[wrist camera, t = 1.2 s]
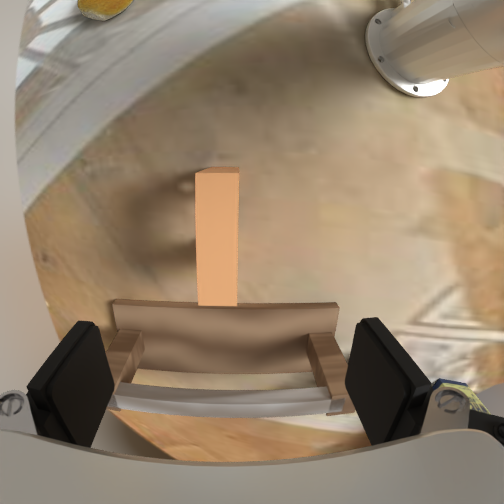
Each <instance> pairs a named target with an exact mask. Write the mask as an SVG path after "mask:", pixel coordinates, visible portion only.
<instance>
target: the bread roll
mask: <svg viewBox="0 0 504 504" xmlns="http://www.w3.org/2000/svg"><path fill="white" fill-rule="evenodd" d="M132 1H133V0H78V8H79V10H80V11H81V12H82V14H83V15H84V16H86V17H89V18H91V19H96V20H101V21H105V20H108V19H110V18H112V17H114V16H116V15H118V14H119V13H121V12H123V11H124V10H125V9H126V8H127V7H128V6H129V5H130V4H131V3H132Z"/></svg>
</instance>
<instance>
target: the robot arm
mask: <svg viewBox="0 0 504 504" xmlns="http://www.w3.org/2000/svg"><path fill="white" fill-rule="evenodd" d="M401 3H402V4H400V6H398V7H397V8H389V9H384V10H382V11H380V12H378V13H377V14H376V15H374V16H373V17H372V19H371V20H370V21H369V23H368V25H367V27H366V33H365V40H366V46H367V50H368V53H369V56H370V58H371V60H372V62H373V64H374V66H375V67H376V69H377V70H378V71H379V73H380V74H381V75H382V76H383V78H384V79H385V80H386V81H388V82H389V83H390V84H391V85H392V86H393V87H395V88H396V89H398V90H399V91H401V92H403V93H405V94H407V95H410V96H414V97H421V98H422V97H430V96H433V95H436V94H438V93H440V92H441V91H442V90H443V89H444V88H445V87H446V85H447V83H448V81H449V79H450V78H454V77H458V76H462V75H466V74H470V73H474V72H479V71H483V70H488V69H493V68H498V67H503V66H504V0H414V1H413V2H412V3H411V0H401ZM378 60H379V61H378ZM431 384H432V383H431V382H430V381H429V379H428V378H427V377H426V376H425V374H424V373H423V372H422V371H421V369H420V368H419V367H418V366H417V364H416V363H415V362H414V361H413V359H412V358H411V357H410V356H409V354H408V353H407V352H406V351H405V350H404V348H403V347H402V346H401V345H400V343H399V342H398V341H397V340H396V339H395V337H394V336H393V335H392V334H391V333H390V331H389V330H388V329H387V328H386V327H385V325H384V324H383V323H382V322H381V321H380V320H379V318H377V317H374V318H364V319H362V320H361V322H360V323H357V325H356V328H355V334H354V339H353V344H352V349H351V354H350V359H349V363H348V368H347V372H346V377H345V387H346V390H347V392H348V394H349V396H350V399H351V401H352V403H353V405H354V407H355V409H356V412H357V414H358V416H359V418H360V420H361V423H362V425H363V427H364V429H365V431H366V434H367V436H368V438H369V440H370V443H371V445H372V446H368V447H363V448H358V449H353V450H348V451H343V452H337V453H331V454H325V455H318V456H311V457H302V458H293V459H283V460H270V461H252V462H198V461H180V460H167V459H157V458H147V457H140V456H133V455H126V454H120V453H114V452H108V451H103V450H98V449H93V448H91V445H92V442H93V440H94V437H95V435H96V432H97V430H98V427H99V425H100V423H101V420H102V418H103V415H104V413H105V410H106V408H107V406H108V403H109V401H110V399H111V396H112V394H113V392H114V388H115V384H114V379H113V376H112V373H111V370H110V367H109V363H108V360H107V356H106V353H105V349H104V346H103V342H102V338H101V334H100V330H99V328H98V326H95V324H94V323H93V322H90V321H78V322H77V323H76V324H75V325H74V326H73V327H72V329H71V330H70V331H69V332H68V333H67V335H66V336H65V337H64V338H63V340H62V341H61V342H60V343H59V345H58V346H57V347H56V348H55V350H54V351H53V352H52V354H51V355H50V356H49V357H48V359H47V360H46V361H45V363H44V364H43V365H42V366H41V368H40V369H39V370H38V372H37V373H36V374H35V376H34V377H33V378H32V380H31V381H30V383H29V384H28V385H27V389H28V393H27V394H26V395H25V394H24V393H23V392H21V391H17V390H11V391H7V392H5V393H3V394H1V395H0V504H504V418H503V417H499V416H495V415H491V414H487V413H483V412H480V411H476V410H472V409H470V401H469V399H468V397H467V395H466V394H465V393H464V392H462V391H461V390H459V389H456V388H454V387H440V388H438V389H436V390H435V391H434V389H433V388H432V387H431Z"/></svg>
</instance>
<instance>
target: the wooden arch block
mask: <svg viewBox="0 0 504 504" xmlns="http://www.w3.org/2000/svg"><path fill="white" fill-rule="evenodd" d="M238 205H239V167H210V168H207V169H205V170H202V171H199V172H197V173H195V219H196V261H197V287H198V305H200V306H237V266H238Z"/></svg>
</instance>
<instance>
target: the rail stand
mask: <svg viewBox="0 0 504 504" xmlns="http://www.w3.org/2000/svg"><path fill="white" fill-rule="evenodd" d="M112 306H113V312H114V317H115V322H116V327H117V332H118V333H117V335H116V336H115V338H114V340H113V342H112V343H111V345H110V347H109V348H108V350H107V352H106V356H107V360H108V363H109V367H110V370H111V373H112V376H113V379H114V384H115V388H114V392H113V394H112V396H111V399H110V401H109V403H108V406H107V408H106V409H110V410H115V411H120V410H121V409H128V410H135V411H142V412H150V413H159V414H169V415H181V416H196V417H221V418H261V417H285V416H300V415H312V414H322V413H326V415H327V416H331V415H340V414H347V413H354V411H355V407H354V405H353V403H352V401H351V399H350V396H349V394H348V392H347V390H346V387H345V377H346V372H347V368H348V364H347V362H346V360H345V358H344V356H343V354H342V352H341V350H340V348H339V346H338V344H337V342H336V340H335V338H334V336H335V331H336V325H337V320H338V314H339V306H338V305H337V303H336V302H333V303H277V304H248V303H237V306H200V305H198V303H192V302H163V301H142V300H124V299H116V300H115V301H114V303H113V304H112ZM137 368H140V369H150V370H161V371H175V372H192V373H219V374H269V373H296V372H313V375H314V378H315V381H316V384H317V387H314V388H300V389H280V390H205V389H186V388H171V387H159V386H149V385H140V384H131V382H132V380H133V377H134V375H135V372H136V370H137Z"/></svg>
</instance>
